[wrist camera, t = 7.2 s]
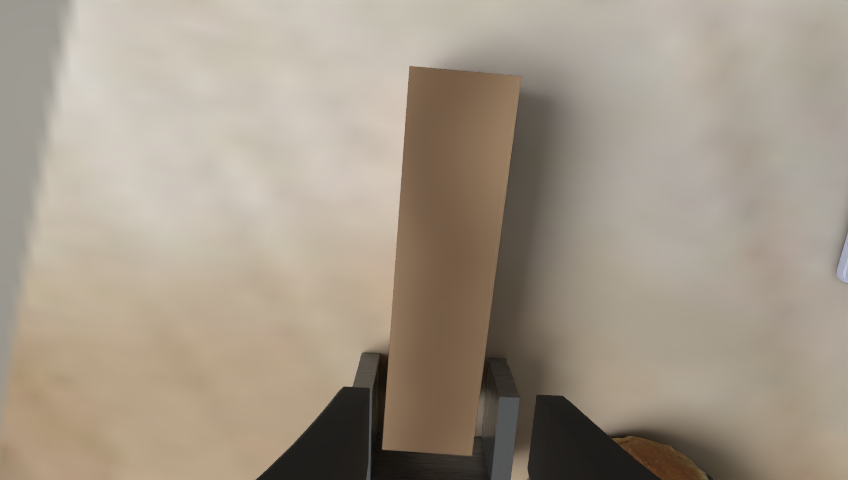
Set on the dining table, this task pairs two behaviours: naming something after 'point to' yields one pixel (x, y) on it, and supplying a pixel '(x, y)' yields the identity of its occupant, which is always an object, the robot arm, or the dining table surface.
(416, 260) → the slat
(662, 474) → the bread roll
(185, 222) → the dining table surface
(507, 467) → the fixed cap
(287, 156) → the dining table surface
